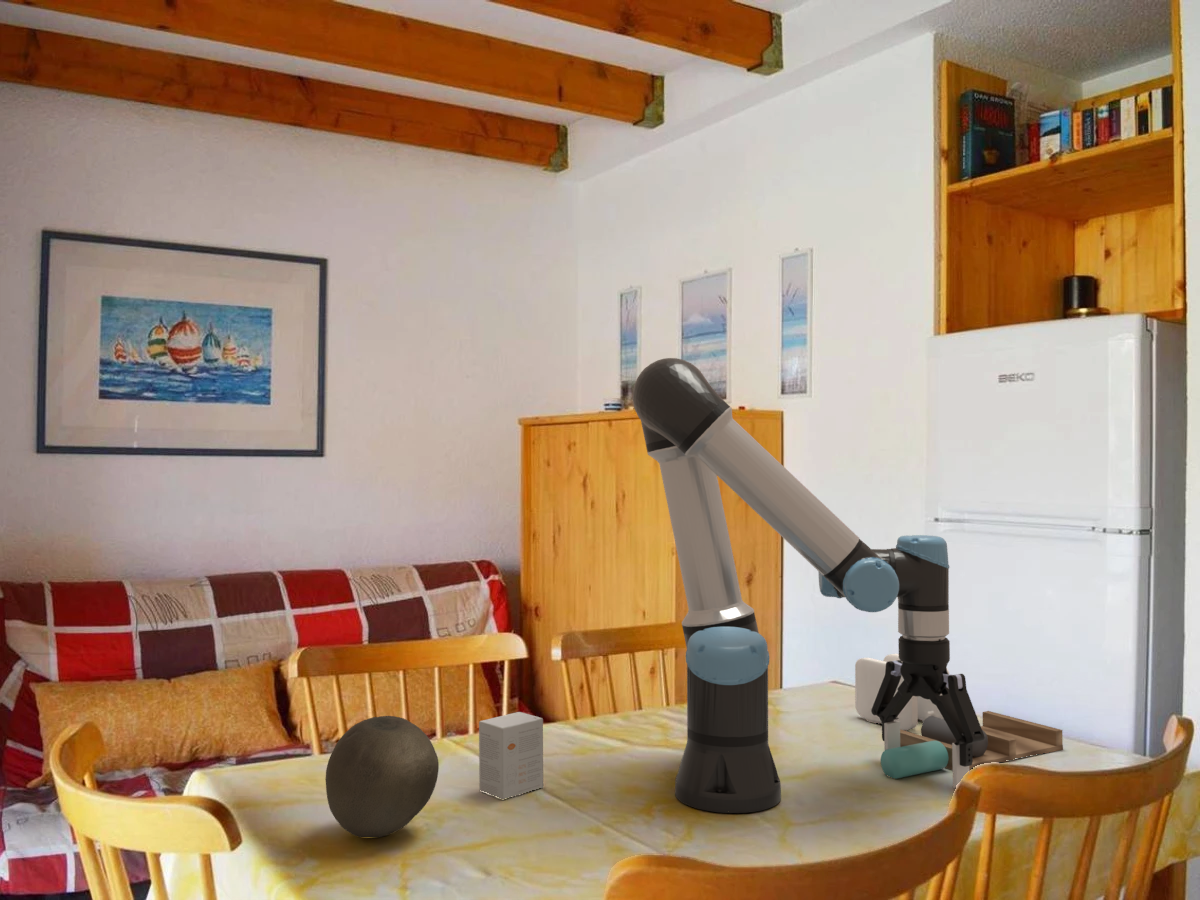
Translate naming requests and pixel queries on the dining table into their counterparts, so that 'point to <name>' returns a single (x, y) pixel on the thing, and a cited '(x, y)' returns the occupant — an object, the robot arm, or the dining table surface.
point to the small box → (511, 754)
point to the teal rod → (914, 759)
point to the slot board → (1020, 749)
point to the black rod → (949, 734)
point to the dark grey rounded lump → (380, 776)
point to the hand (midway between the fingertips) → (925, 775)
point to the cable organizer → (869, 683)
